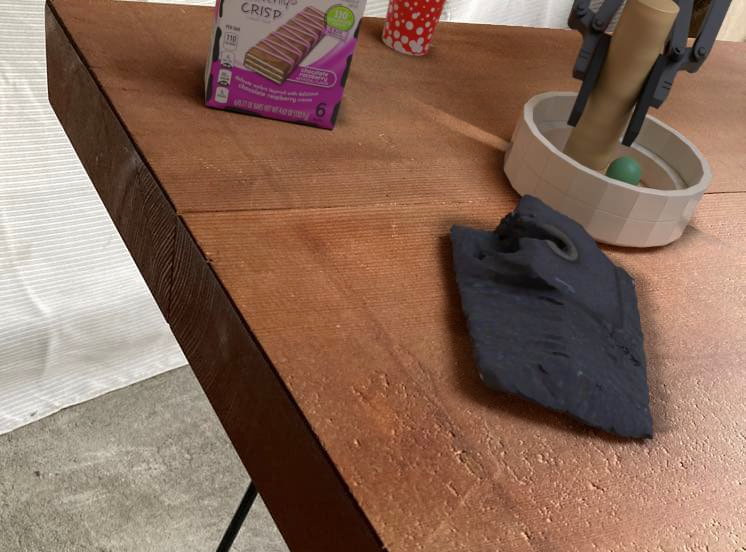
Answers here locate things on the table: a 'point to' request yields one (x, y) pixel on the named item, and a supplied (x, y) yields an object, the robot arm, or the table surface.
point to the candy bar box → (282, 57)
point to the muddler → (620, 80)
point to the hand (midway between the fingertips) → (602, 128)
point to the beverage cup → (411, 25)
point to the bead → (624, 170)
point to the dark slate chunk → (554, 319)
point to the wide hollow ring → (600, 193)
